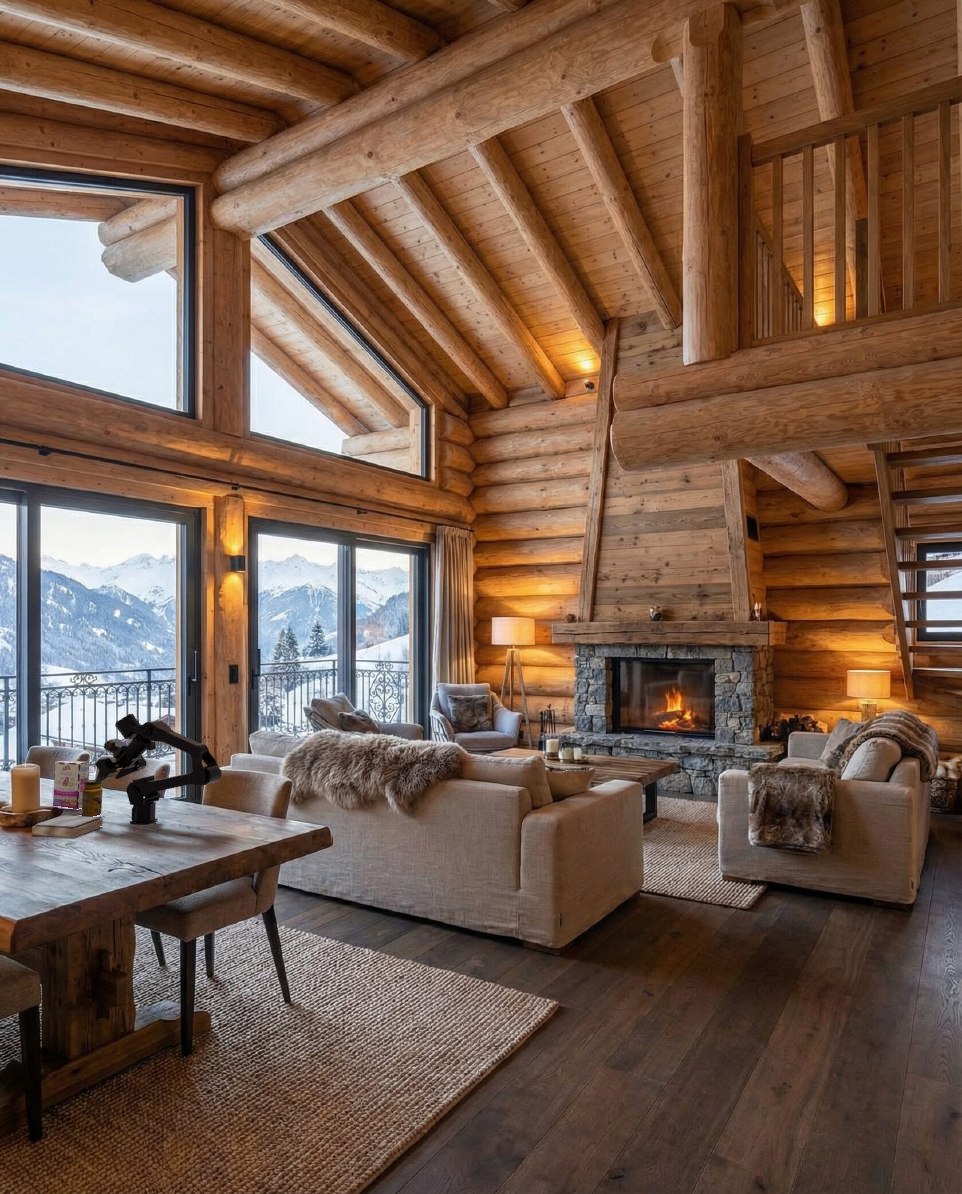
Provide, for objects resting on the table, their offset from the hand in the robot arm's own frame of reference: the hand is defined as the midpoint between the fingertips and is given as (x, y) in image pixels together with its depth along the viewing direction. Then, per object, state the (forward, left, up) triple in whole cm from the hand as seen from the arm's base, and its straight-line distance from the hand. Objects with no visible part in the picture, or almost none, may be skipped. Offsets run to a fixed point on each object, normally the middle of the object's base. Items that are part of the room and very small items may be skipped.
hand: (106, 780), depth 273 cm
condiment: (+7, -1, -13) cm, 14 cm away
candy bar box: (+21, -11, -13) cm, 27 cm away
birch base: (+1, +18, -12) cm, 22 cm away
